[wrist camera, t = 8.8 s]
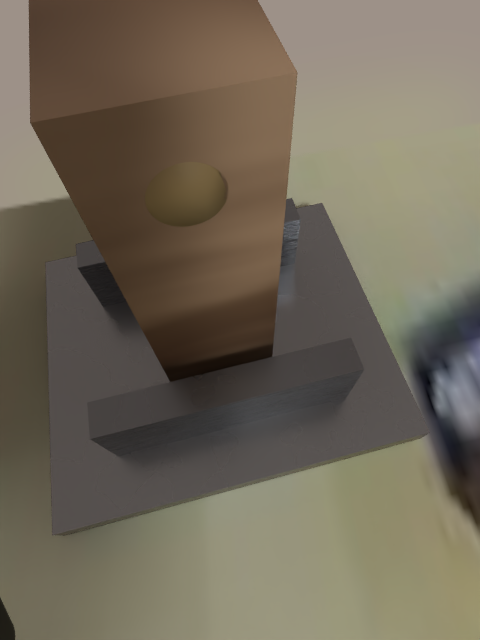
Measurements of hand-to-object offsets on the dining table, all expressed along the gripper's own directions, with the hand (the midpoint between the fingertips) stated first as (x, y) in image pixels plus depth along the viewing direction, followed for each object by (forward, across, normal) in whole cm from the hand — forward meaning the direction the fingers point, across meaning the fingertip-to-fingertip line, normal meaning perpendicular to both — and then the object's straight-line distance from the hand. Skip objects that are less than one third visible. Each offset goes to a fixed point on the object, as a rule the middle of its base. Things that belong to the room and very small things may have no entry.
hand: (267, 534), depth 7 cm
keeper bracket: (+12, 0, 0) cm, 12 cm away
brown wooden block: (+11, 0, 0) cm, 11 cm away
